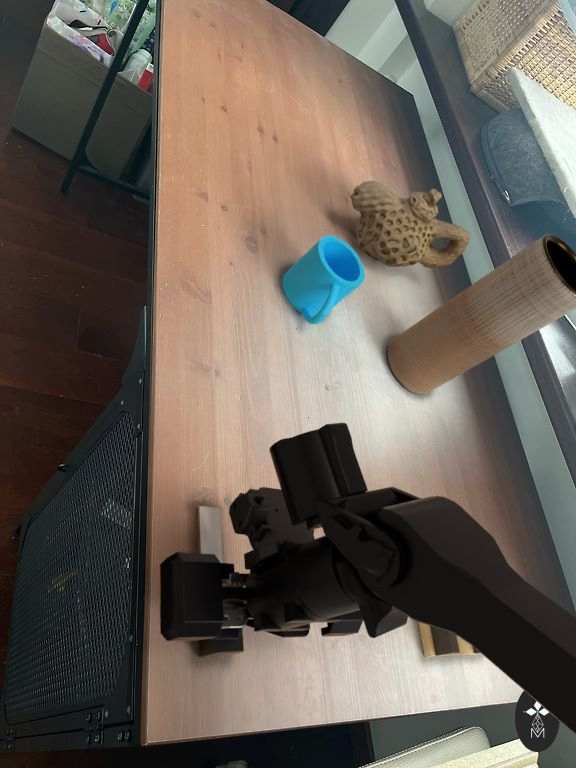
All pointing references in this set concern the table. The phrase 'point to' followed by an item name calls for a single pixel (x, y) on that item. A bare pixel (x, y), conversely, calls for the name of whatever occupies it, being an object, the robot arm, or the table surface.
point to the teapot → (404, 227)
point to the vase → (487, 316)
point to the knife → (212, 545)
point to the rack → (443, 642)
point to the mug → (323, 278)
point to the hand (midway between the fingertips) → (217, 614)
